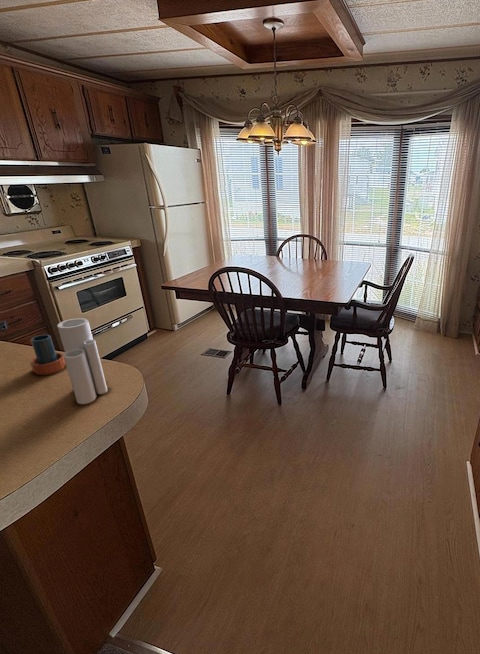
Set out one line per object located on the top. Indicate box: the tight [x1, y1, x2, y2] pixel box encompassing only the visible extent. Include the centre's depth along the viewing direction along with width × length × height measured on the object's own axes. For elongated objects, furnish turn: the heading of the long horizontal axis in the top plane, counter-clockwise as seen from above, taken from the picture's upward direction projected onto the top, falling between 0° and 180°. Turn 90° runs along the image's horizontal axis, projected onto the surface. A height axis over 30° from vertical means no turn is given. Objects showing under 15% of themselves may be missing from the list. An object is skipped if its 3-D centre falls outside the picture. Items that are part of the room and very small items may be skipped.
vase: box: [56, 317, 108, 405], centre depth 91 cm, size 11×7×20 cm, turn 36°
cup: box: [30, 334, 58, 365], centre depth 103 cm, size 5×5×10 cm
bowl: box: [29, 352, 66, 376], centre depth 105 cm, size 8×8×4 cm
